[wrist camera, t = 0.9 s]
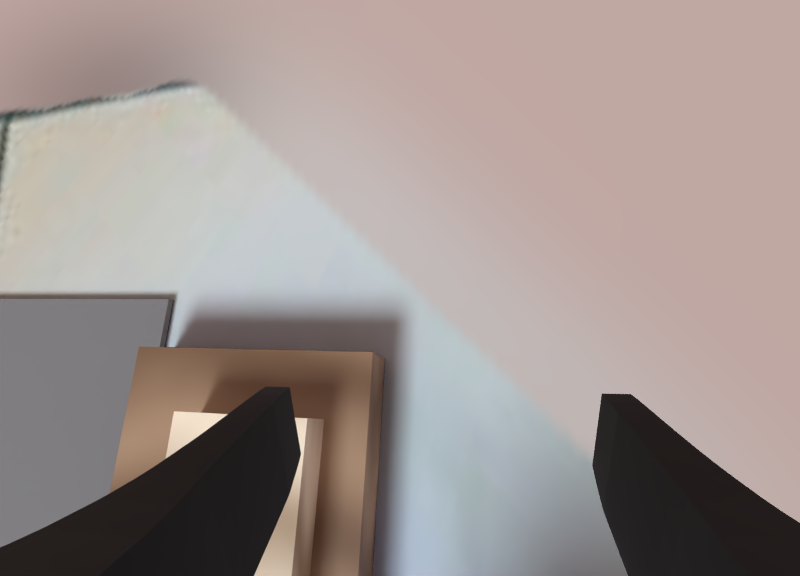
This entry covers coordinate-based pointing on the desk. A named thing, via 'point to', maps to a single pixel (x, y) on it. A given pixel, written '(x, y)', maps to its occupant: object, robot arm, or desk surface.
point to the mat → (65, 401)
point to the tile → (293, 535)
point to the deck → (312, 398)
